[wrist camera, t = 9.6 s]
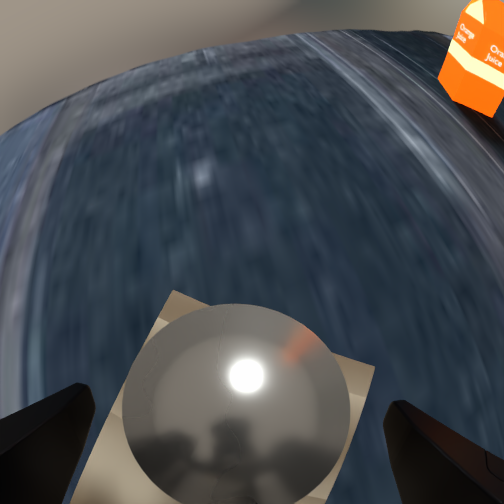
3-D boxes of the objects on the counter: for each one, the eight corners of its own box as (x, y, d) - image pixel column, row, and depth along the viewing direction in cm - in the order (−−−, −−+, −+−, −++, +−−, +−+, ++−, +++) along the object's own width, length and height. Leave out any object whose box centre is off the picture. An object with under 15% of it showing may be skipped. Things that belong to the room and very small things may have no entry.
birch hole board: (228, 613, 7) (227, 646, 4) (77, 547, 9) (46, 565, 5) (347, 378, 16) (375, 367, 12) (186, 316, 18) (172, 289, 14)
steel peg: (256, 454, 14) (300, 540, 3) (195, 429, 14) (90, 452, 4) (280, 397, 15) (376, 346, 5) (221, 374, 16) (181, 273, 5)
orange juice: (437, 78, 39) (469, -16, 21) (475, 94, 38) (510, 9, 21) (452, 100, 35) (493, -5, 17) (492, 118, 34) (536, 25, 17)
